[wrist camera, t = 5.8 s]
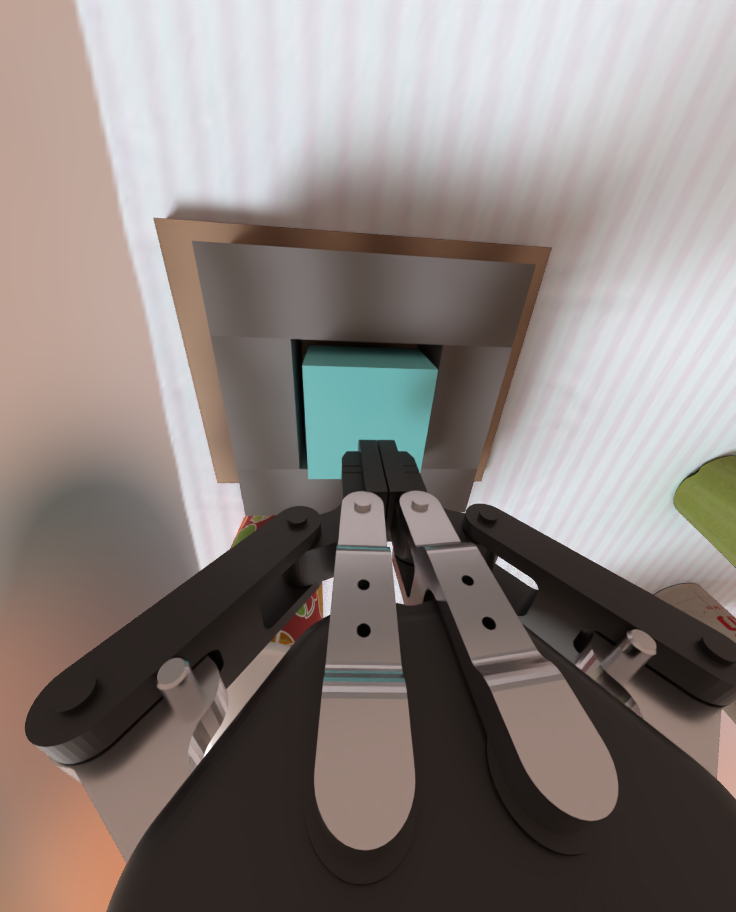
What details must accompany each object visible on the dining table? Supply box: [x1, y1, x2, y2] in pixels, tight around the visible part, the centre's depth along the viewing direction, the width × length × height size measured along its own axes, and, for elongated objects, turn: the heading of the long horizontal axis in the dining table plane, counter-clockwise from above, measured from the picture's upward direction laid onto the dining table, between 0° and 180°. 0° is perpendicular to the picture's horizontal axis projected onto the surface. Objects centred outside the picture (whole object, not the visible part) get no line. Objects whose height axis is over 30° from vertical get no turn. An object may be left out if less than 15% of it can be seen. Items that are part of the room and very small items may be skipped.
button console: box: [154, 218, 552, 516], centre depth 20 cm, size 22×17×6 cm
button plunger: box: [302, 345, 438, 479], centre depth 18 cm, size 6×6×4 cm
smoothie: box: [204, 515, 323, 756], centre depth 21 cm, size 8×8×20 cm
